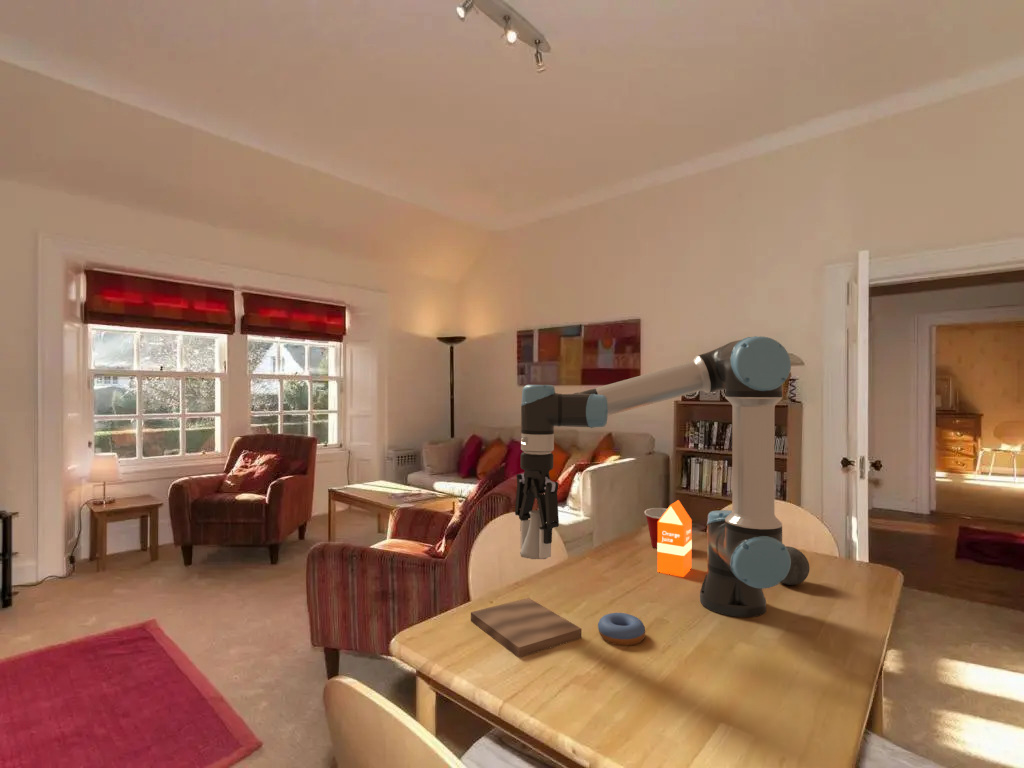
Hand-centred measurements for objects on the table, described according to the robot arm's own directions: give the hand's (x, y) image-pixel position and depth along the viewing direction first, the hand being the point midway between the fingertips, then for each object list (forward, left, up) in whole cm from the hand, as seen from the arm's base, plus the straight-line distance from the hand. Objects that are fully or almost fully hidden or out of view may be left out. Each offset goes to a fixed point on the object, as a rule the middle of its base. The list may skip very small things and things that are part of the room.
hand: (535, 552), depth 125 cm
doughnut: (-16, -11, -16) cm, 25 cm away
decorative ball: (-17, -73, -16) cm, 76 cm away
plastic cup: (+25, -69, -16) cm, 75 cm away
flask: (0, 0, -1) cm, 1 cm away
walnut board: (-2, +4, -16) cm, 16 cm away
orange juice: (+7, -55, -16) cm, 57 cm away
